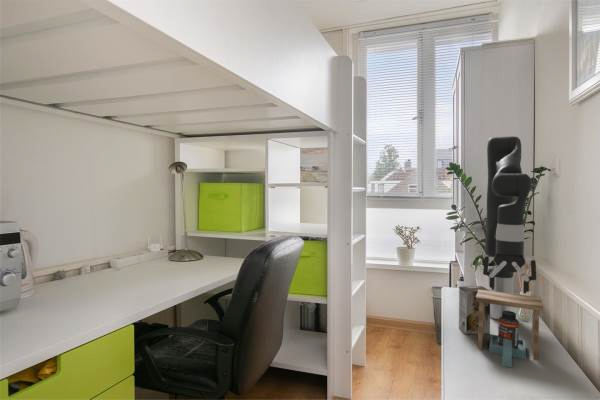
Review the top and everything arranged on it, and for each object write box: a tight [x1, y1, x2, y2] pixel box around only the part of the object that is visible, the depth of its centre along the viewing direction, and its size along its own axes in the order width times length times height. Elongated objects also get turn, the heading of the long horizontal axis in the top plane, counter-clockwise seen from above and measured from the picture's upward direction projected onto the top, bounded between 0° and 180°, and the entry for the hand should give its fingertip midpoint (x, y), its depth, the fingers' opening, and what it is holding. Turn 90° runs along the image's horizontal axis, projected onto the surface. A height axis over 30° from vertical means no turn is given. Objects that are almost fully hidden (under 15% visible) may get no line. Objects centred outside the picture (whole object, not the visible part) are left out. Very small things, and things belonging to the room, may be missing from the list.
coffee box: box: [458, 285, 491, 335], centre depth 142 cm, size 9×6×16 cm
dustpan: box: [488, 333, 527, 368], centre depth 122 cm, size 19×10×5 cm, turn 151°
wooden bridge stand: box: [476, 290, 544, 361], centre depth 127 cm, size 11×19×17 cm, turn 61°
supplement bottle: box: [497, 310, 520, 349], centre depth 126 cm, size 6×6×11 cm
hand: (508, 291), depth 117 cm, fingers open, 8 cm apart
